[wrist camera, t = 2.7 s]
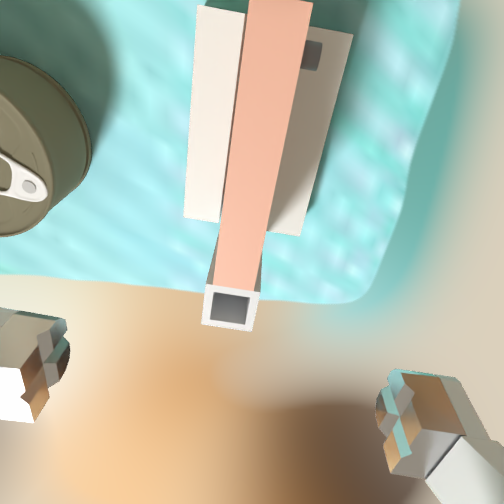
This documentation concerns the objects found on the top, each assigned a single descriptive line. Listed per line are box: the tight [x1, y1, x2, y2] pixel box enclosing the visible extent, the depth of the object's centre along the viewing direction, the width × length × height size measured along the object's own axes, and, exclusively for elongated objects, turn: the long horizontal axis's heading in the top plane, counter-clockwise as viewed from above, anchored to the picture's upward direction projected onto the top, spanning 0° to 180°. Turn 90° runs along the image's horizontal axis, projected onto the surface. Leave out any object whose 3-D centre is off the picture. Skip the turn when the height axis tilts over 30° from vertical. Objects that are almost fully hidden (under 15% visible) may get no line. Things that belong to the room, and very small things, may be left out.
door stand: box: [183, 5, 354, 236], centre depth 28 cm, size 10×15×2 cm, turn 171°
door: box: [201, 0, 322, 332], centre depth 24 cm, size 4×17×13 cm, turn 171°
